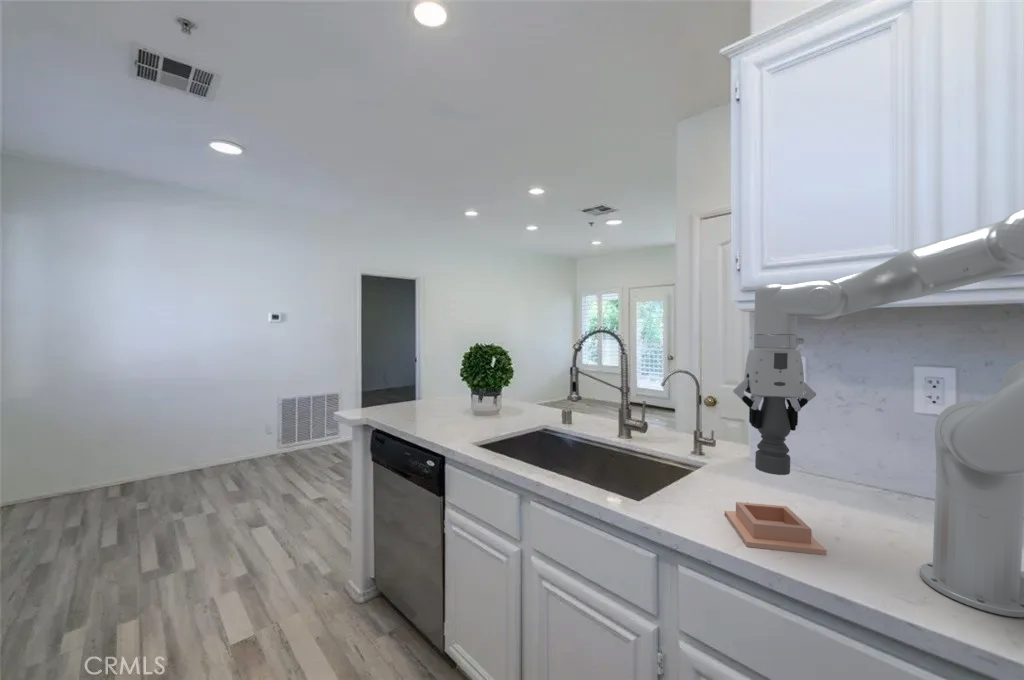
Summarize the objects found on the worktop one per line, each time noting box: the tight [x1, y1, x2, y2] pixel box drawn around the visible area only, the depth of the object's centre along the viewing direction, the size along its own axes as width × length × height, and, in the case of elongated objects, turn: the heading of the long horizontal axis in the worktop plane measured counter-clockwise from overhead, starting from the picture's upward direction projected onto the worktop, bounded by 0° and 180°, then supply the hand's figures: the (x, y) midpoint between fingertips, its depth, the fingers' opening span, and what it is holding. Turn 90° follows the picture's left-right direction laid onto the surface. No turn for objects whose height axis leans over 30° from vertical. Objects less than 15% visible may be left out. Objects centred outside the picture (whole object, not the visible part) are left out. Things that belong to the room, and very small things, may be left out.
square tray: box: [724, 501, 828, 556], centre depth 85 cm, size 14×14×4 cm
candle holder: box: [754, 353, 792, 476], centre depth 84 cm, size 6×6×25 cm
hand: (772, 427), depth 84 cm, fingers closed on candle holder, 5 cm apart
